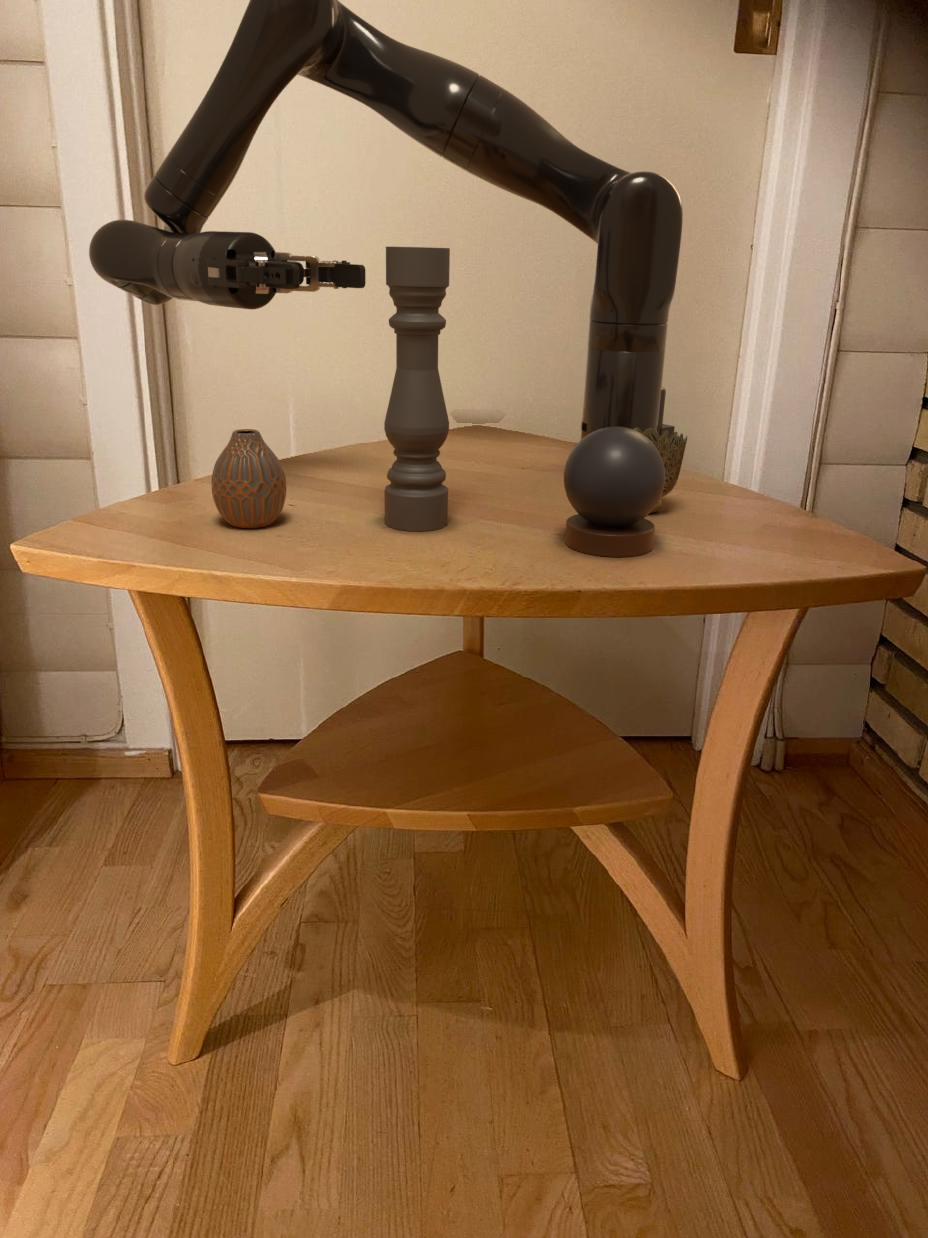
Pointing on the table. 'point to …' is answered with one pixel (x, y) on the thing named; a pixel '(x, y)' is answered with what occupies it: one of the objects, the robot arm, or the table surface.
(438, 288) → the candle holder
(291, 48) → the robot arm
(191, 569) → the table surface
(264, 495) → the vase
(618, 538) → the ball on stand
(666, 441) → the spiky textured bowl
